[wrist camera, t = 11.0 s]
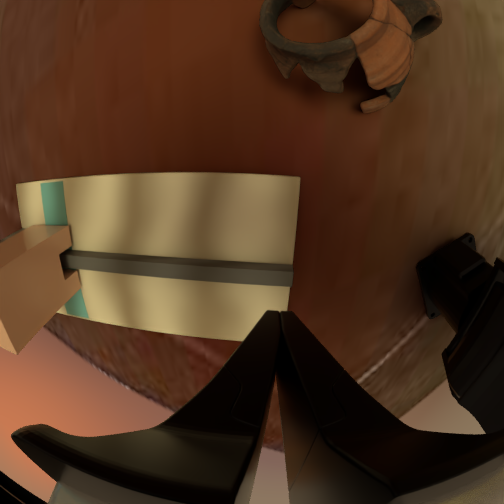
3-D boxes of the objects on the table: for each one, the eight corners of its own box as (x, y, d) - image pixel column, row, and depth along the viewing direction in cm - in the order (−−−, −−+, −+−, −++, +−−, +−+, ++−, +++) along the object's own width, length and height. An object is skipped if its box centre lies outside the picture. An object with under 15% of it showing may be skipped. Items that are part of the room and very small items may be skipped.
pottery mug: (338, 145, 18) (295, 103, 11) (278, 59, 20) (221, 8, 13) (467, 76, 12) (484, 9, 5) (389, -2, 14) (367, -70, 7)
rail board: (299, 176, 19) (314, 195, 13) (282, 339, 24) (284, 395, 18) (19, 183, 20) (-28, 201, 14) (46, 306, 25) (13, 339, 19)
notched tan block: (68, 225, 20) (-15, 278, 11) (81, 287, 23) (17, 354, 13) (32, 225, 20) (-43, 270, 11) (45, 281, 23) (-16, 338, 14)
